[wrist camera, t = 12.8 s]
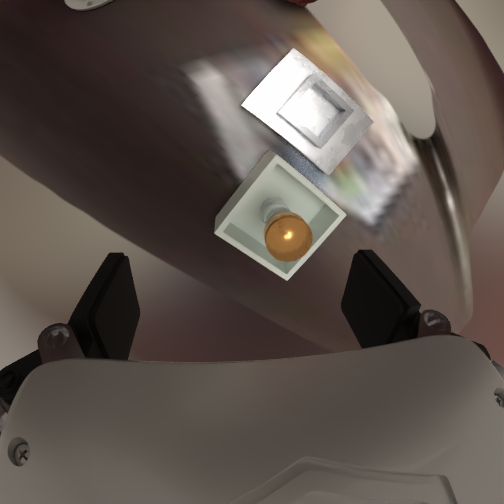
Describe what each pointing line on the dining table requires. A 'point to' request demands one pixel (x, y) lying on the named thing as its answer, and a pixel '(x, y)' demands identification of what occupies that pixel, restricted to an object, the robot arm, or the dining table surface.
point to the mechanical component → (302, 2)
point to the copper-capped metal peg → (284, 231)
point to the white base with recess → (308, 111)
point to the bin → (296, 198)
